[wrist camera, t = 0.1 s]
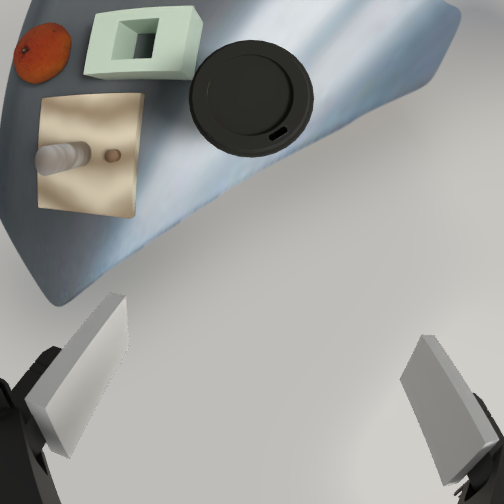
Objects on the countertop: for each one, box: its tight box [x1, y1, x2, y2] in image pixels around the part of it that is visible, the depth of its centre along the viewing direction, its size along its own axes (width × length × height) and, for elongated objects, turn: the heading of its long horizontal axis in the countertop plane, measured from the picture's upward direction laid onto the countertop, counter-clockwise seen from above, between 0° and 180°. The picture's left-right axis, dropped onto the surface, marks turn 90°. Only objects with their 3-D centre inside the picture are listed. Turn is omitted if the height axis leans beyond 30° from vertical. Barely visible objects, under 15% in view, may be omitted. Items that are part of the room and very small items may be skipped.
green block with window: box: [83, 6, 203, 80], centre depth 29 cm, size 12×8×6 cm, turn 82°
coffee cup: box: [189, 40, 314, 158], centre depth 28 cm, size 10×10×15 cm
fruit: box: [14, 23, 71, 84], centre depth 28 cm, size 9×9×8 cm
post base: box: [35, 93, 145, 219], centre depth 33 cm, size 16×16×10 cm
